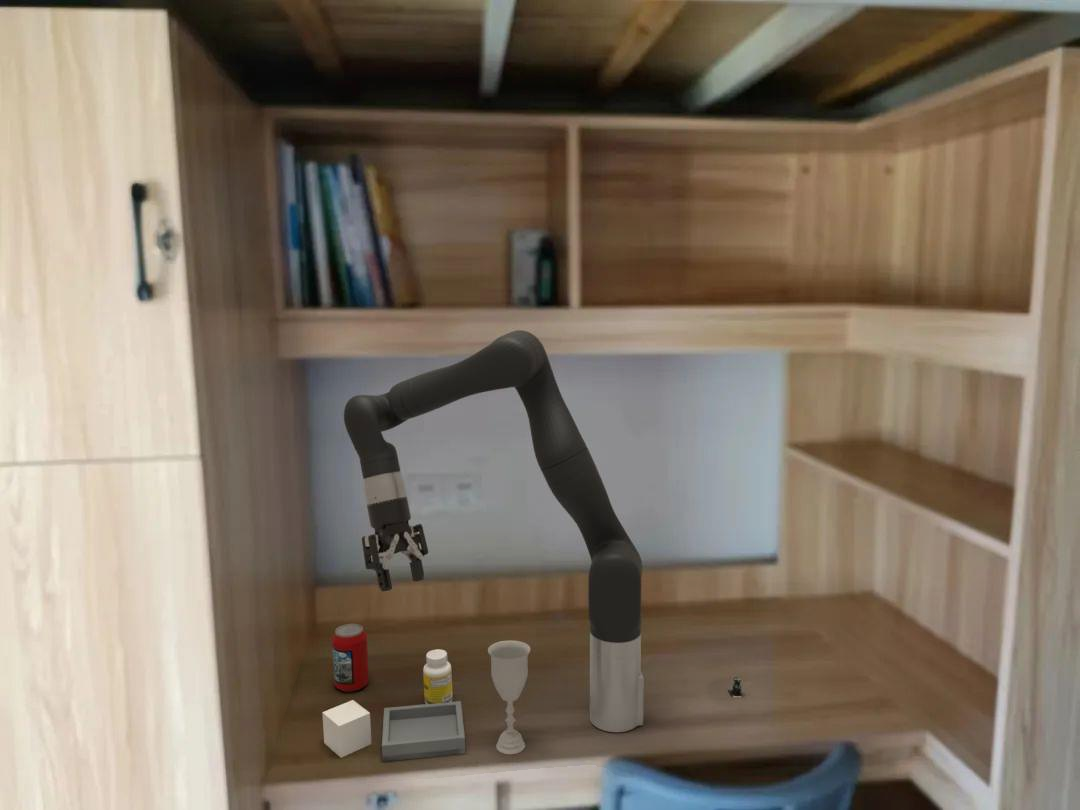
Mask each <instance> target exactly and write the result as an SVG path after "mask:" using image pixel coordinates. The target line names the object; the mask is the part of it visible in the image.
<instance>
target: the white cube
mask: <svg viewBox="0 0 1080 810" xmlns="http://www.w3.org/2000/svg"><path fill="white" fill-rule="evenodd" d="M321 713H322V714H321V715H322V727H323V741H324V744H325V745H326V746H327V747H328V748H329V749H330V750H331V751H332V752H333V753H335V754H336V755H337V756H339V758H341V759H342V758H343V757H346V756H348V755H350V754H352V753H356V752H357V751H359V750H362V749H363V748H366V747H368V746H370V745H372V727H371V713H370V712H369V711H368V710H367V709H366V708H364V707H363V706H361V705H360V704H359V703H358V702H356V701H355V700H354V699H352V700H349V701H347V702H344V703H341V704H340V705H337V706H335V707H332V708H330V709H329V708H328V710H325V711H322V712H321Z"/></svg>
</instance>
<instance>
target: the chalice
mask: <svg viewBox="0 0 1080 810" xmlns="http://www.w3.org/2000/svg"><path fill="white" fill-rule="evenodd" d="M530 646H531V645H528V644H527V643H525V642H523V641H519V640H511V639H510V640H501V641H497V642H495V643H493V644H491V645H490V646H489V647H488V649H487V652H488V654H489V655H490V662H491V663H490V665H491V666H490V669H491V670H490V671H491V673H490V674H491V680H492V681H493V684H494V687H495V689H496V691H497V693H498V694H499V697H501V699H502V700H503V701H504V702H506V703H507V704H506V705H507V706H506V708H505V712H506V715H507V716H506V718H505V720H504V722H505V723H506V724H507V728H506V729H505V730H503V731H502V733H500V736H499V738H498V740H497V743H496V745H495V746H496V750H497V751H498V752H500V753H501V754H505V755H516V754H519V753H521V752H522V751H524V749H526V748H525V747H526V743H525V741H524V739H523V737H522V734H521V733H520V732H519V731H518V730H517V729H514V723H515V722H516V718H514V713H515V711H516V710H515V708H514V705H513V704H514V701H517V700H518V699H519V698H520V695H521V694H522V691H523V689H524V687H525V685H526V681H527V678H528V676H529V674H528V673H529V672H528V661H529V660H528V658H529V657H528V656H529V654H530V652H531V647H530Z"/></svg>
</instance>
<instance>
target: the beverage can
mask: <svg viewBox="0 0 1080 810" xmlns="http://www.w3.org/2000/svg"><path fill="white" fill-rule="evenodd" d="M331 639H332V640H331V643H332V647H331V648H332V663H333V665H332V666H333V679H334V687H336V688H337V689H338V690H341V691H343V692H346V693H348V692H350V693H351V692H357V691H359V690H361V689H363V688H364V687H365V686H367V684H368V683H369V679H370V677H369V655H368V653H369V651H368V650H369V649H368V635H367V633H366V632H365V630H364V628H363V626H362V625H361V624H357V623H348V624H343V625H340V626H338V627H337V628H335V632H334V634H333V636H332V638H331Z"/></svg>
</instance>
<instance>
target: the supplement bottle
mask: <svg viewBox="0 0 1080 810" xmlns="http://www.w3.org/2000/svg"><path fill="white" fill-rule="evenodd" d="M425 658H426V659H425V661H426V663H425V664H424V666H423V671H422V672H423V673H422V675H423V676H422V677H423V678H422V679H423V695H424V697H423V698H424V704H434V703H445V702H453V679H452V675H453V674H452V665H451V663H450V662H449V661H448V652H447V651H446V650H444V649H437V648H436V649H432V650H429V651H428V652H427V653H426V656H425Z"/></svg>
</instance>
